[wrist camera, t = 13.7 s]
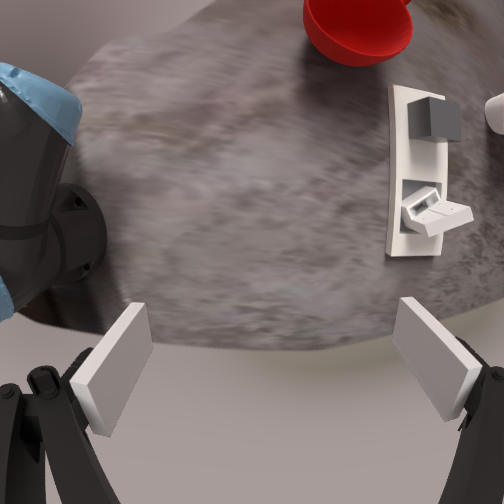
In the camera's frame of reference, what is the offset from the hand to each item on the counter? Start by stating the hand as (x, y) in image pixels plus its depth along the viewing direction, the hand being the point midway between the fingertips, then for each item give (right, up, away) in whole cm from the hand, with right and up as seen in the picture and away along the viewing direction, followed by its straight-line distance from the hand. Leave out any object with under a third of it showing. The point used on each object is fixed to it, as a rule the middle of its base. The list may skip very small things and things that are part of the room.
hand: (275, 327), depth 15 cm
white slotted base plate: (+22, +15, +23) cm, 36 cm away
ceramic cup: (+13, +34, +18) cm, 41 cm away
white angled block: (+22, +10, +25) cm, 35 cm away
